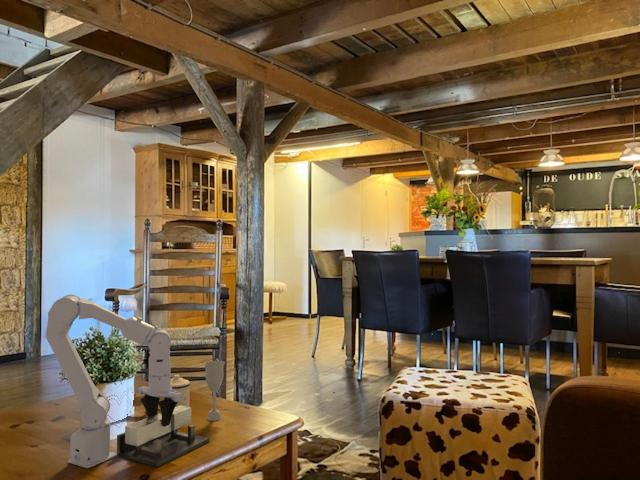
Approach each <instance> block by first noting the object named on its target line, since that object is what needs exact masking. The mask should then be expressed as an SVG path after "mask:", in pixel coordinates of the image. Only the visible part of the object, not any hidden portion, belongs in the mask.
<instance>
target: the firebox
mask: <svg viewBox="0 0 640 480" xmlns="http://www.w3.org/2000/svg"><path fill="white" fill-rule="evenodd" d="M208 443H210V438H209V437H206V436H201V435H199V434H198V435H197V434H196V425H194V424H191V425H190V424H189V425H187V432H184V431H180V430H179V428H178V429H176V430H174V431H171V432H169V433H167V434H164V435H162V436H160V437H157V438H155V439H153V440H150V441H148V442H146V443H144V444H141V445H139V446H134V445H130V444H126V443H125V431H124V432H122V433H120V434H117V435H116V454H117V456H116V457H120V458H124V459H127V460H131V461H134V462H137V463H140V464H141V463H142V464H145V465H149V466H151V467H156V468H158V467H160V466H163V465H165V464H167V463H169V462H171V461H173V460H175V459H177V458H179V457H181V456H183V455H186V454H187V453H189V452H191V451H193V450H196V449H197V448H199V447H202V446H203V445H206V444H208Z"/></svg>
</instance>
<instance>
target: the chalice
mask: <svg viewBox="0 0 640 480" xmlns="http://www.w3.org/2000/svg"><path fill="white" fill-rule="evenodd" d="M225 364H226V361H224V360H209V361H205V362H203V365H204V367H205V381H206V384H207V386H208V389H209V391H210V392H212V397H211V398H212V402H211V404H212V409H210V410H209V412H208V413H207V414H208V415H207V417H206V420H207V421H214V422H215V421H220V420H222V419H223V416H222V414H221V412H220V410H219V409H217V404H218V401H217V398H218V397H217V392H219V390H220V389H221V386H222V383H223V380H224V368H225V367H224V366H225Z"/></svg>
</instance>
